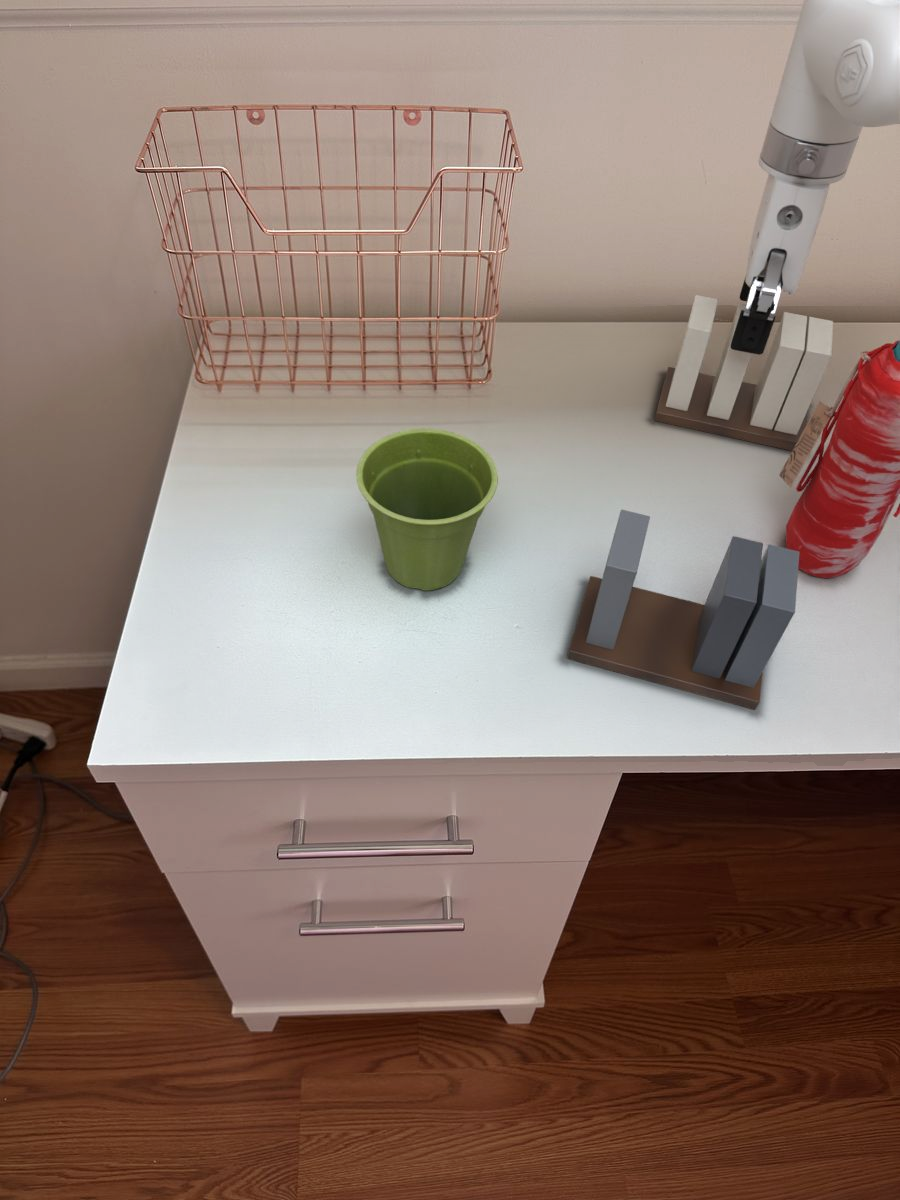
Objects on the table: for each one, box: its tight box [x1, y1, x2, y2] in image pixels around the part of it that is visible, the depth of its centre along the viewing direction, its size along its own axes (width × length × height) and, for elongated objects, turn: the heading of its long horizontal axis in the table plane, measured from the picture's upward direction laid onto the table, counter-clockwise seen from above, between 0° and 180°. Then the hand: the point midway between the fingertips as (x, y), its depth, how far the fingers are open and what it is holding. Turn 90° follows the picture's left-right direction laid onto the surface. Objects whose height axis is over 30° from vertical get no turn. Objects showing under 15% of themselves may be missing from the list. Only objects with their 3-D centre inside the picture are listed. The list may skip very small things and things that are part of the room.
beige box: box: [707, 302, 753, 420], centre depth 92 cm, size 2×6×10 cm, turn 162°
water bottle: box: [778, 339, 900, 579], centre depth 73 cm, size 12×8×25 cm, turn 33°
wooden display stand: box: [653, 294, 834, 452], centre depth 92 cm, size 16×9×11 cm, turn 72°
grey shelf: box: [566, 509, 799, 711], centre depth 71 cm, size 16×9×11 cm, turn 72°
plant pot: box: [355, 427, 499, 591], centre depth 76 cm, size 12×12×11 cm
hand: (750, 325), depth 88 cm, fingers open, 9 cm apart
